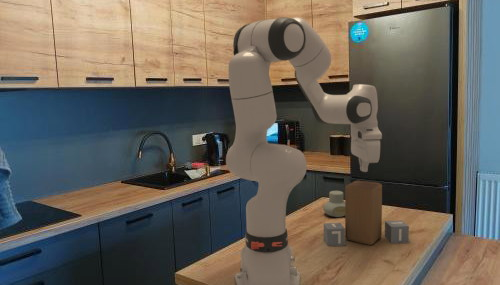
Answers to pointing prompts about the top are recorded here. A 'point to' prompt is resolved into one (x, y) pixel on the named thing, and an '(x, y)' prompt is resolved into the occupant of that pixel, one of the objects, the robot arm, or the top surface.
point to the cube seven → (334, 234)
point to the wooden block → (363, 212)
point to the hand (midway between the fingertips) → (363, 171)
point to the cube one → (396, 231)
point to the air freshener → (335, 204)
